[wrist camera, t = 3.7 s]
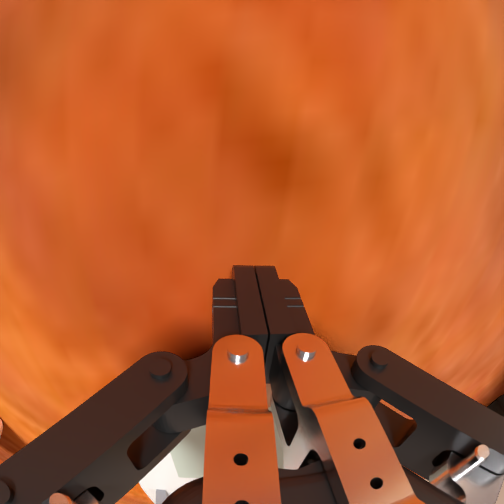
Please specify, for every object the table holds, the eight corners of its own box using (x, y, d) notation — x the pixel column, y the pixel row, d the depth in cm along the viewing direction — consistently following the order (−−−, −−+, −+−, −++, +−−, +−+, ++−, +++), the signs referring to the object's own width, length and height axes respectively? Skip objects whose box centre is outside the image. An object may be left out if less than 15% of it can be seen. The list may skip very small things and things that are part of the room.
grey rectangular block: (318, 347, 16) (336, 400, 13) (286, 433, 21) (294, 473, 18) (163, 348, 15) (156, 406, 12) (179, 436, 20) (178, 477, 16)
